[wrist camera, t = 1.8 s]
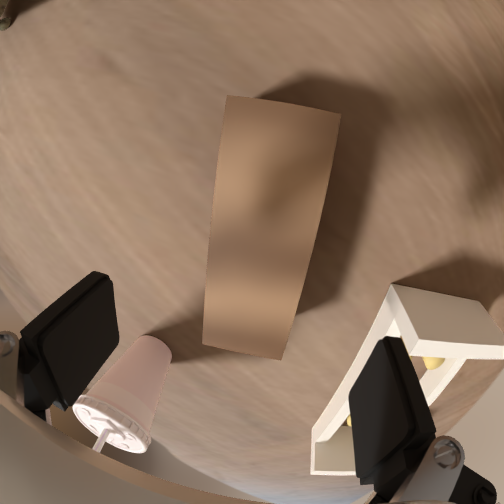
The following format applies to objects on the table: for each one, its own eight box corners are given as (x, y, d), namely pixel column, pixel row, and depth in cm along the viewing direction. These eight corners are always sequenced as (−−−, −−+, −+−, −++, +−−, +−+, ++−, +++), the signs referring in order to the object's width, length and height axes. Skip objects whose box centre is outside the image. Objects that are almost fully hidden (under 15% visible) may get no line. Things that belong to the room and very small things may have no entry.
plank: (244, 104, 15) (226, 95, 11) (328, 119, 15) (341, 114, 11) (218, 304, 21) (202, 343, 17) (284, 317, 21) (281, 360, 16)
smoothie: (193, 344, 23) (129, 492, 10) (177, 382, 25) (126, 501, 13) (127, 311, 22) (36, 435, 10) (121, 354, 25) (54, 460, 12)
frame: (391, 283, 18) (418, 339, 12) (478, 301, 17) (512, 346, 12) (311, 428, 26) (310, 474, 21) (384, 431, 25) (390, 472, 20)
